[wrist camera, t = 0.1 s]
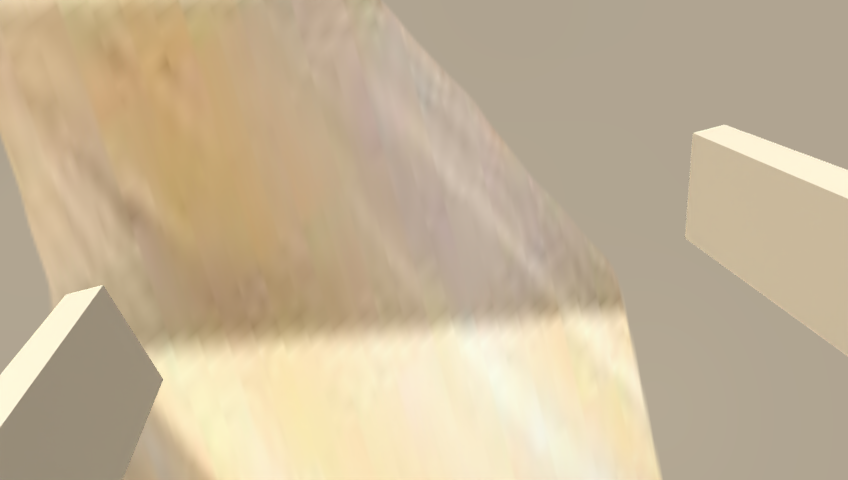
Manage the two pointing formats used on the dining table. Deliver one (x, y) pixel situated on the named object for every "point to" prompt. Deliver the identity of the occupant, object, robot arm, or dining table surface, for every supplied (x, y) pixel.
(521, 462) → the dining table surface
